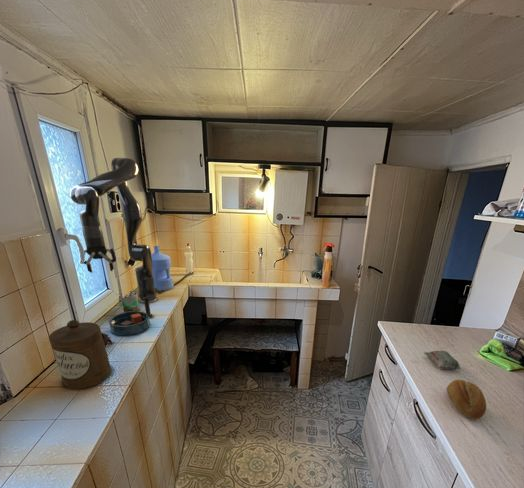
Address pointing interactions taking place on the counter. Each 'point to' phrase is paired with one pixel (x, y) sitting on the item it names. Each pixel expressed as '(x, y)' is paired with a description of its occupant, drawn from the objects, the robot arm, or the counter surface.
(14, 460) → the counter surface
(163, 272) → the water jug
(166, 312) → the counter surface
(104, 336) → the pottery mug
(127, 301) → the food container
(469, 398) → the bread roll
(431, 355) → the packaged food
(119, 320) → the bowl
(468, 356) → the counter surface
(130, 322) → the block
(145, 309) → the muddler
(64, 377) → the wooden container
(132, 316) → the block
